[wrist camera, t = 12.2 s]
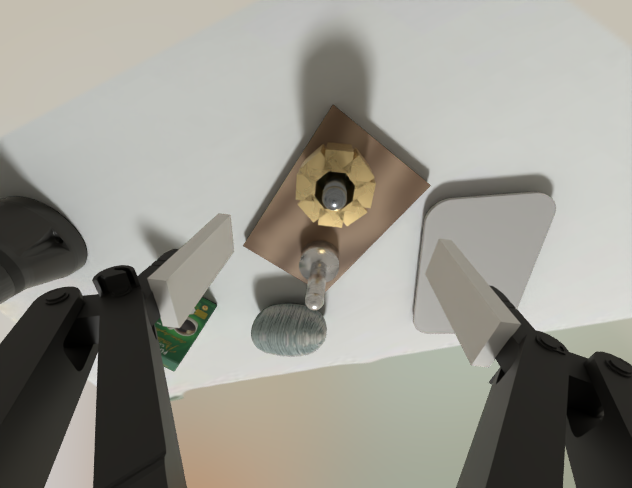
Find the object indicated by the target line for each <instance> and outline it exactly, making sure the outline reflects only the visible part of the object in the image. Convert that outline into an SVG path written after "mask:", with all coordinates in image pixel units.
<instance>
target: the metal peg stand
mask: <svg viewBox="0 0 632 488" xmlns="http://www.w3.org/2000/svg"><path fill="white" fill-rule="evenodd" d="M351 182H352V181H351V180H350V178H349V177H348V176H347V175H346V173H340V172H331V171H328V172H327V173H326V174H325V175H324V176H322V177H321V178H320V179H319V181H318V184H319V185H320V186H321V188H322V189H323V194H322V202H323V204H324V206H325V207H326V208H327V209H329V210H331V211H337V210H340V209H342V208H343V207H344V206H345V204H346V202H347V191H346V190H348V189H349V188H350V187H351Z"/></svg>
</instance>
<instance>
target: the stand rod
mask: <svg viewBox="0 0 632 488" xmlns="http://www.w3.org/2000/svg"><path fill="white" fill-rule="evenodd" d="M299 270H300V272H301V274H302V276H303V277H304V278H306V279H307V280H308V285H307V291H306V296H305V304H306V306H307V307H308V308H309V309H311V310H319V309H320V308H321V307H322V306H323V304H324V298H325V285H326V282H329V281H331V280H333V279H334V278H335V277H336V276H337V274H338V271H339V253H338V250H337V249H336V247H335V246H334V245H332V244H331V243H329V242H327V241H323V240H316V241H312V242H310V243H308V244H307V245H306V246H305V247H304V248H303V250H302V254H301V258H300V262H299Z"/></svg>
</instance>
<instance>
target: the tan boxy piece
mask: <svg viewBox="0 0 632 488" xmlns="http://www.w3.org/2000/svg"><path fill="white" fill-rule="evenodd" d="M328 171H331V172H340V173H346V175H347V176H348V177H349V178H350V180H351V181H352V182H351V187H350V188H349V189H348V190H346V191H347V202H346V204H345V206H344V207H343V208H342V209H340V210H337V211H331V210H329V209H327V208H326V207H325V206H324V204H323V202H322V194H323V189H322V188H321V186H320V185H319V184H318V181H319V179H320V178H321V177H322V176H324V175H325V174H326V173H327V172H328ZM374 178H375V177H374V175H373V173H372V170H371V168H370V166H369V165H368V163H367V162H366V161H365V159H364V158H363V156H362V155H361V154H360V152H359V151H358V149H357V148H355V149H353V147H352V145H349V144H340V143H331V142H328V143H327V147H325V146H324V144H322V145H321V146H320V147H319V148H318V149H317V150H315V151H314V152H313V153H312V154H311V155H310V156H309V157H307V158H306V159H305V161H304V162H303V164H302V166H301V167H300V169H299V172H298V173H297V181H296V200H299V202H298V204H297V205H298V206H299V207H300V208H301V209H302V210H303V211H304V213H305V214H306V215H307V216H308V217H309V218H310V219H311V220H312V221H313V223H314V222H315V221H316V220H318V219H319V220H318V225H323V226H332V227H340V228H342V225H343V222H344V223H345V225H346V226H349V225H350V224H351V223H353V222H354V221H356V220H357V219H359V218H360V217H362V216H363V215H365V214H366V213H368V212H367V208H371V204H372V199H373V195H374V190H375V185H376V182H375V180H374Z"/></svg>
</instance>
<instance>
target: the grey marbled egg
mask: <svg viewBox="0 0 632 488" xmlns="http://www.w3.org/2000/svg"><path fill="white" fill-rule="evenodd" d="M326 331H327V327H326V322H325V319H324V317H323V316H322V314H321V313H320V312H318V311H317V310H311V309H309V308H308V307H307V306H306V305H300V304H278V305H273V306H270V307H268V308H266V309H264V310H263V311H261V312H260V313H259V314H258V316H257V317H256V319H255V320H254V323H253V325H252V330H251V337H252V340H253V342H254V344H255V346H256V347H257V348H258V349H260V350H262V351H263V352H265V353H269V354H273V355H278V356H288V357H295V356H304V355H308V354H311V353H313V352H314V351H316V350H317V349H318V348H319V347H320V346H321V345H322V344H323V342H324V341H325V338H326Z"/></svg>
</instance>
